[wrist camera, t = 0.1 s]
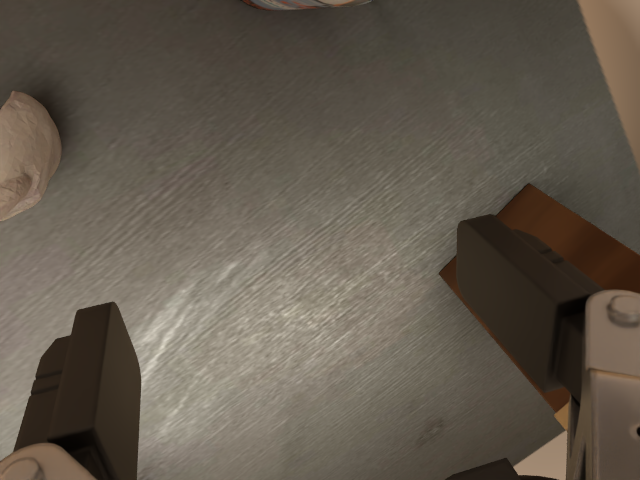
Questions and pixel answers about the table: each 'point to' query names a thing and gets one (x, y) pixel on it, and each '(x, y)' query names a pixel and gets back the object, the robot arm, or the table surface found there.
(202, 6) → the table surface
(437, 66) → the table surface
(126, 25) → the table surface
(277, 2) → the beverage can
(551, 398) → the plinth
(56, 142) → the fossil
